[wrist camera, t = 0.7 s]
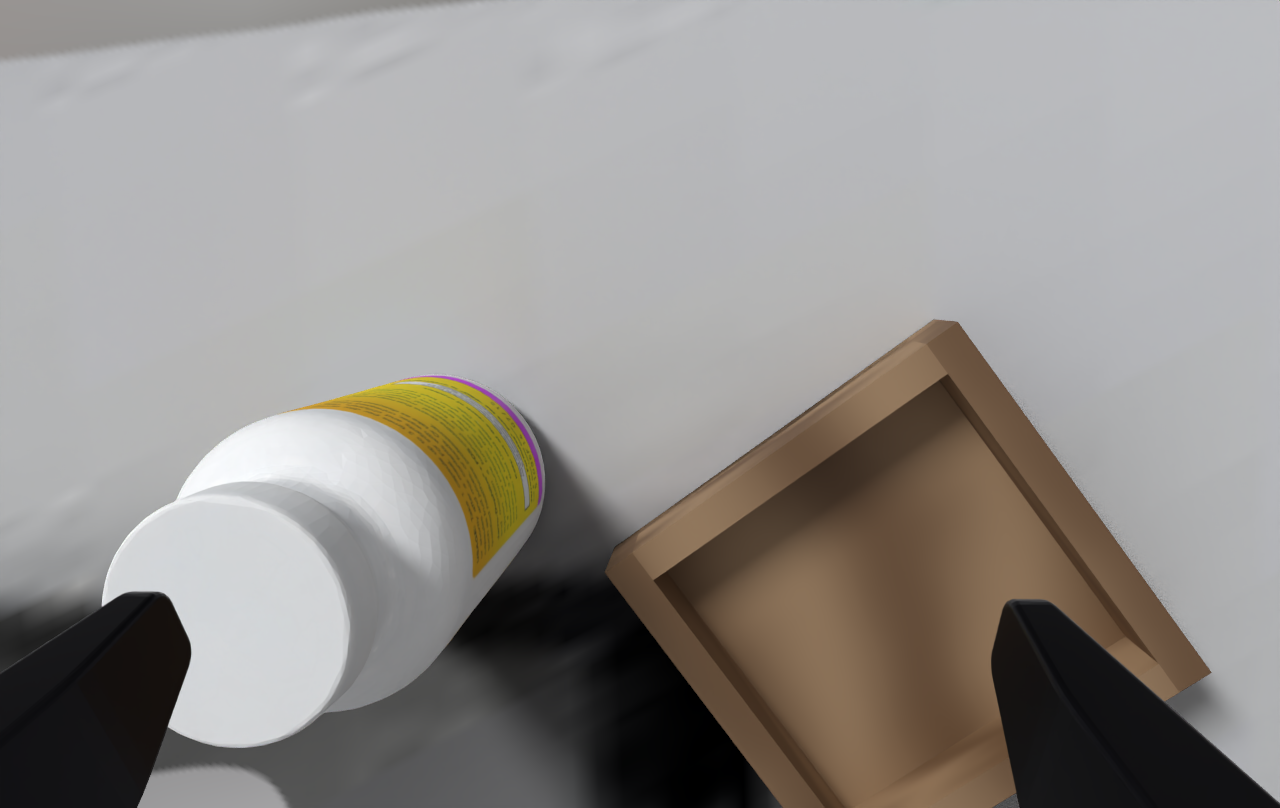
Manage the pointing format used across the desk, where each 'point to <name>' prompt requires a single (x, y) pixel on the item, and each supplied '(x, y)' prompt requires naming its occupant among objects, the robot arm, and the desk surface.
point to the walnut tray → (886, 584)
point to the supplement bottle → (335, 551)
